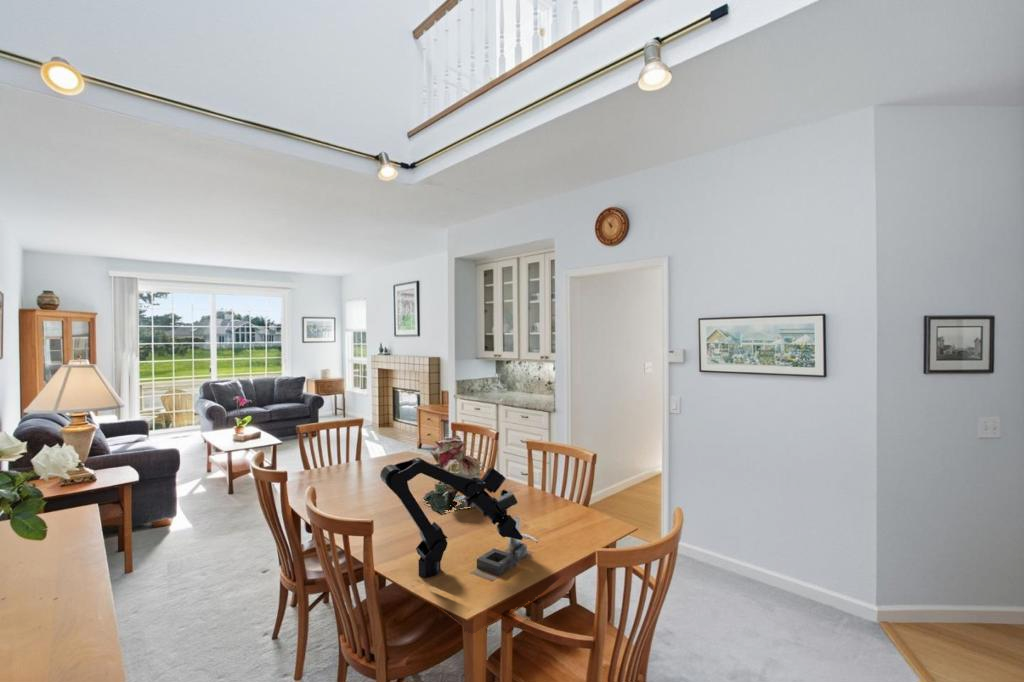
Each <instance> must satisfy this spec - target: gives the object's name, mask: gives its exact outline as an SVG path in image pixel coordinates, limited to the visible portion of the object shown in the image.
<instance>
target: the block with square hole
mask: <svg viewBox="0 0 1024 682" xmlns="http://www.w3.org/2000/svg"><path fill="white" fill-rule="evenodd" d="M534 553H535V552H534V551H530V550H528V546H527V544H526V542H524V541H523V542H522V541H520V548H519V549H517V550H516V551H515V555H513V554H510V553H508V548H506V549H505V550H500V549H497V548H492V549H491V550H489V551H487V552H485V553H484V554H482V555H481V556H478V557H477V558H476V568H475V569H474V570H471V571H470V572H469V574H471V575H474V576H476V577H480V578H482V579H484V580H487V581H490V582H494V581H496V579H498V578H500V577H501V576H503V575H504V574H506V573H507V572H508V571H510V570H511V569H512V568H514V567H516V566H517V565H518V564H520V563H522V561H524V560H525V559H527V558H528V557H529V556H531V555H532V554H534Z"/></svg>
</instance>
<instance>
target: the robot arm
mask: <svg viewBox="0 0 1024 682" xmlns="http://www.w3.org/2000/svg"><path fill="white" fill-rule="evenodd" d="M433 464H434V463H431V462H429V461H427V460H425V459H422V457H414V458H411V459H409V460H405V461H401V462H397V463H396V464H388V465H386V466H384V467H383V468H382V470H380V474H379V475H380V477H379V478H380V479H381V481H382V482H383V483H384V484H385V485H386V487H388V488H389V489H390V490H391V491H392V492H393V493H394V494H395V495H396V496H397V498H398V499H399V502H401V504H402V506H403V507H404V509H405V510H406V512H407V513H408V514H409V516H410V519H412V521H413V522H414V524H415V525H416V526H417V528H418V530H419V531H418V532H419V535H420V539H421V542H420V543H419V544H418V545H417V546H416V547H415V551H416V553H417V554H418V556H420V557H419V559H418V576H419V577H420V578H424V579H428V578H433V577H436V576H437V575H439V572H440V571H441V569H442V568H441V565H442V564H441V561H442V559H443V556H444V552H445V551H446V549H447V547H448V541H447V539H448V536H447V535H446V533H444V530H443V529H442V527H441V526H440V525H439V524H438V523H437V522H435V521H433V523H431V522H430V520H429V518H428V517H427V515H426V514H425V512H424V511H423V509H422V507H421V506H420V504H419V503H418V502H417V500H416V498H415V496H414V495H413V494H412V492H411V491H410V487H409V483H408V482H409V481H411V480H412V479H414V478H415V477H416V476H417V475H420V474H423V475H425V476H427V477H429V478H432V479H433V480H436V481H438V482H440V481H441V482H443V483H445V484H448V485H450V486H452V487H453V488H454V489H456V490H457V491H459V492H458V493H460V494H461V495H464V496H466V497H465V498H464V499H465V505H466V506H467V507H469V506H470V505H471V504H473V505H475V507H476V508H477V510H479V511H480V512H481V513H482V515H483V516H484V517H486V518H488V519H489V520H490V521H491V523H492V524H493V525H494V526H495V525H496V524H497V525H496V530H497V533H498V534H499V535H500V536H501V537H502V538H508V537H510V538H514V539H518V540H520V541H522V540H523V539H524V538H523V537H524V536H522V535H521V534H520V533H519V531H518V530H517V528H516V521H515V520H514V518H513V517H514V516H511V514H508V509H510V508H512V507H513V506H515V505H517V504H518V503H519V502H518V500H517V498H516V496H515V493H513V491H512V490H506V488H503V489H501V490H500V495H498V496H499V497H498V498H496V497H494V496H491V495H490V494H492V493H493V494H496V493H497V491H498V490H499V488H500V487H501V486H502V484H504V483H505V481H506V479H507V478H506V477H505V476H504V475H503V474H502V473H501V472H498V471H497V470H496V469H495V468H494V467H492V466H490V467H489V468H488V469H487V471H486V472H485V473H484V475H483V476H482V477H481V480H480V479H479V478H470V477H469V476H467V475H463V474H459V473H452V472H449V471H447V470H444V469H442V468H440V467H438V466H435V465H433ZM489 493H490V494H489Z"/></svg>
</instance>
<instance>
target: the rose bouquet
mask: <svg viewBox="0 0 1024 682" xmlns="http://www.w3.org/2000/svg"><path fill="white" fill-rule="evenodd" d="M461 439H462V437H460V436H459V435H458V434H456V435H455V436H452V437H446V438H443V439H441V440H438V441H435V443H436V445H437V446H438V447H437V448H433V449H429V452H430V454H431V456H432V457H433V459H434V461H435V462H436V463H432V464H433V465H435V466H438V467H440V468H442V469H444V470H447V471H449V472H452V473H459V474H463V475H467V476H469V477H470V478H479V479H480V480H481V479H482V477H481V476H482V474H481V473H480V472H481V471H482V469H481V468H483V467H482V465H481V464H482V462H481V461H480V460H479V459H477V458H474V457H473V456H472V455H469V454H466V455H465V453H466V450H465V449H463V446H464V445H465V443H466V442H465V441H463V440H461ZM458 493H460V492H459V491H457V490H456V489H454V488H453V487H452V486H450V485H448V484H445V483H443V482H441V481H438V483H437V482H436V481H434V490H430V491H429V492H426V493H425V495H424V496H423V497H422V498H423V499H424V500H425V501H428V502H427V503H426V502H425V503H426V504H430V505H431V507H430V508H431V509H432V510H433V511H435V512H438V513H439V514H441V515H445V514H444V513H445V512H446V511H445V510H448V511H449V507H450V505H453V504H454V502H453V500H454V499H455V500H457V501H459V502H461V503H462V504H460V505H458V506H456V507H454V508H456V509H459V510H461V509H460V508H464V507H467V506H466V505H465V502H464V501H462V500H465V499H464V498H465V497H466V496H464V495H463V494H461V495H460V496H457V495H456V494H458ZM453 506H454V505H453ZM469 507H472V508H471V509H473V508H475V507H476V506H475V505H473V504H471V505H470V506H469ZM450 508H451V507H450ZM455 512H456V510H454V513H455Z"/></svg>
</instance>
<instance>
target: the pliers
mask: <svg viewBox="0 0 1024 682" xmlns="http://www.w3.org/2000/svg"><path fill="white" fill-rule="evenodd" d="M520 534H521V535H522V537H523V539H530V540H532V541H533V540H534V541H533V542H535V543H536V542H537V543H538V540H537V539H536V538H535V537H533V536H531V535H529V534H526V533H523V532H521V531H520Z"/></svg>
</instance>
